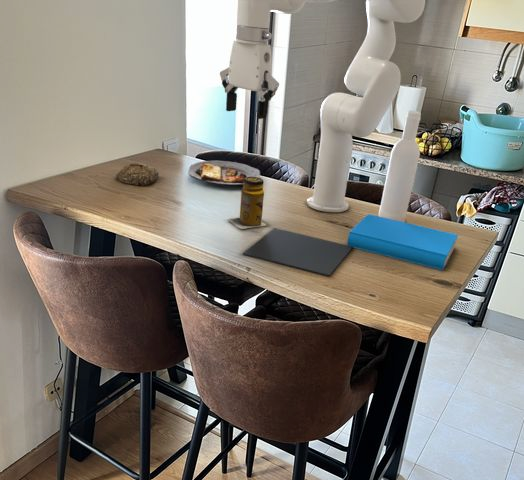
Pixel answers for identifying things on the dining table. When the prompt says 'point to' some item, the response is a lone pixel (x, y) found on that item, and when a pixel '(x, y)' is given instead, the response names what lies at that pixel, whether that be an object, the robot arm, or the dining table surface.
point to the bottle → (401, 171)
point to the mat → (299, 251)
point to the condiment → (250, 204)
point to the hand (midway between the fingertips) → (246, 114)
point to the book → (403, 241)
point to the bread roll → (137, 174)
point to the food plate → (222, 172)
